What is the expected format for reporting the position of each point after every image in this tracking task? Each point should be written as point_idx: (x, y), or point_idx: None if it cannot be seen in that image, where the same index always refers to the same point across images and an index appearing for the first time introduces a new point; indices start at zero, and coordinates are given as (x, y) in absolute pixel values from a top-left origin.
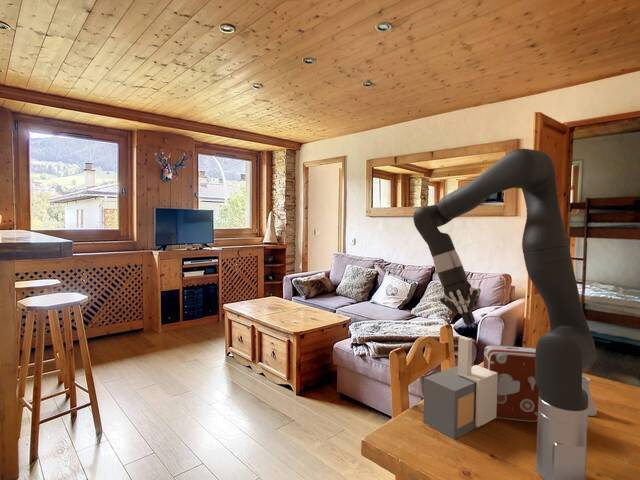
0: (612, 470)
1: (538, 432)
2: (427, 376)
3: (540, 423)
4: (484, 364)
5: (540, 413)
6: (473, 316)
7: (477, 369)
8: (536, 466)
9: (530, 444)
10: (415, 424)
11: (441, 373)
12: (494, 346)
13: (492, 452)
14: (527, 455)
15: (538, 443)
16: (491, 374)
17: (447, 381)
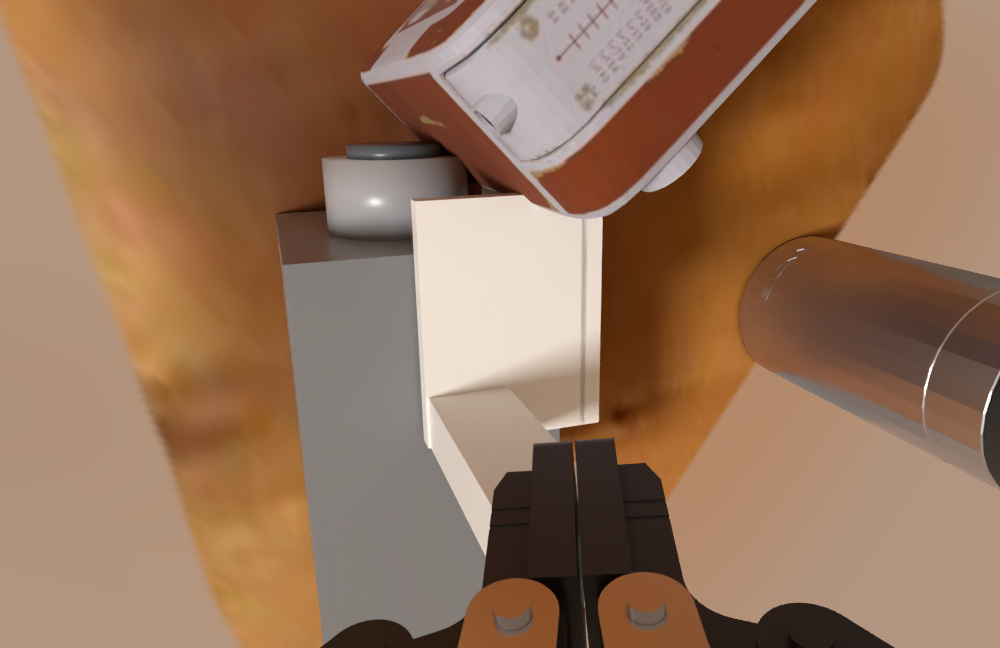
0: (898, 110)
1: (858, 412)
2: (323, 630)
3: (903, 439)
4: (438, 108)
5: (938, 455)
6: (667, 518)
7: (483, 276)
8: (756, 356)
9: (672, 212)
10: (300, 541)
11: (336, 513)
12: (552, 22)
13: (611, 398)
14: (695, 295)
15: (828, 398)
16: (593, 263)
17: (451, 561)
